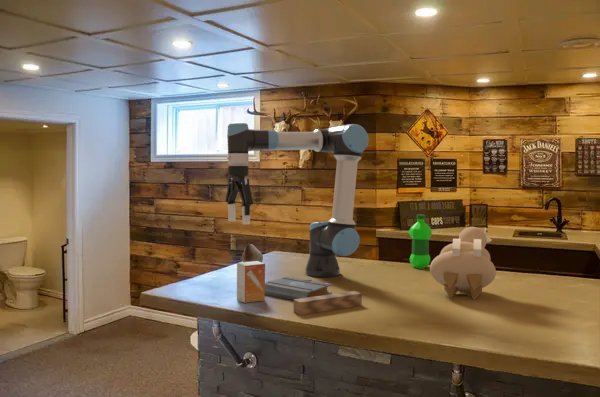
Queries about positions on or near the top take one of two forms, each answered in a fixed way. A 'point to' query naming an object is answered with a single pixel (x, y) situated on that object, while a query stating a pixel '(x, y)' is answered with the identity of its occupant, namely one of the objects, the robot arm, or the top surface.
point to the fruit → (251, 254)
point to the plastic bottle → (420, 243)
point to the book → (296, 288)
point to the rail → (327, 302)
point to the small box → (250, 281)
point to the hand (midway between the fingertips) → (238, 222)
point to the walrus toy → (464, 264)
